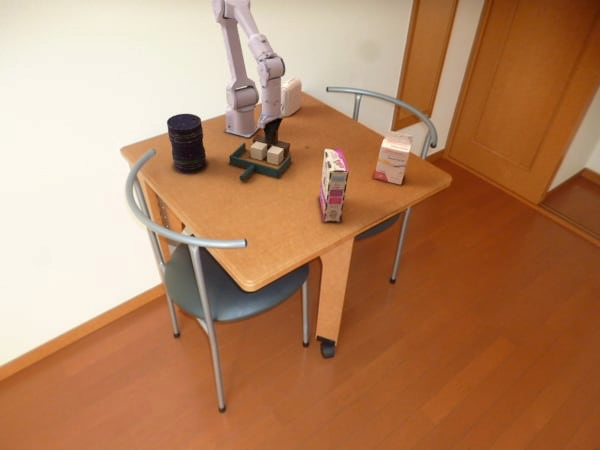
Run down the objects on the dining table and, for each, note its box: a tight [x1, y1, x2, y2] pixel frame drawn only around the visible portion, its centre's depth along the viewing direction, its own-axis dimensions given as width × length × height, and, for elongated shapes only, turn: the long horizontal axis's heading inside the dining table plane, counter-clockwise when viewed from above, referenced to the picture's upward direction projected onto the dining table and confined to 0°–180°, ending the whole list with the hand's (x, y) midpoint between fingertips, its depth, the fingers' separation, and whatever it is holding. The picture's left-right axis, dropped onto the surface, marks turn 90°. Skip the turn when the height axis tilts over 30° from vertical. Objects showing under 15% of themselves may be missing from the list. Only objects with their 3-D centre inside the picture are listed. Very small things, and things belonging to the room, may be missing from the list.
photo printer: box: [281, 77, 303, 117], centre depth 158 cm, size 10×4×12 cm, turn 149°
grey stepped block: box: [252, 128, 291, 158], centre depth 135 cm, size 12×4×8 cm, turn 67°
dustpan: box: [228, 142, 292, 183], centre depth 129 cm, size 17×16×3 cm
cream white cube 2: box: [266, 146, 285, 166], centre depth 133 cm, size 4×4×4 cm
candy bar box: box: [318, 148, 350, 223], centre depth 111 cm, size 11×5×16 cm, turn 5°
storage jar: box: [166, 113, 207, 175], centre depth 126 cm, size 10×10×15 cm
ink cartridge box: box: [374, 129, 414, 185], centre depth 125 cm, size 9×5×15 cm, turn 71°
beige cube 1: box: [250, 141, 267, 161], centre depth 135 cm, size 4×4×4 cm
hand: (271, 138), depth 135 cm, fingers closed on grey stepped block, 2 cm apart
